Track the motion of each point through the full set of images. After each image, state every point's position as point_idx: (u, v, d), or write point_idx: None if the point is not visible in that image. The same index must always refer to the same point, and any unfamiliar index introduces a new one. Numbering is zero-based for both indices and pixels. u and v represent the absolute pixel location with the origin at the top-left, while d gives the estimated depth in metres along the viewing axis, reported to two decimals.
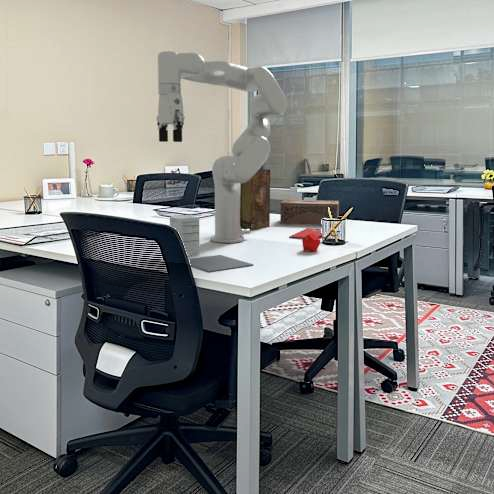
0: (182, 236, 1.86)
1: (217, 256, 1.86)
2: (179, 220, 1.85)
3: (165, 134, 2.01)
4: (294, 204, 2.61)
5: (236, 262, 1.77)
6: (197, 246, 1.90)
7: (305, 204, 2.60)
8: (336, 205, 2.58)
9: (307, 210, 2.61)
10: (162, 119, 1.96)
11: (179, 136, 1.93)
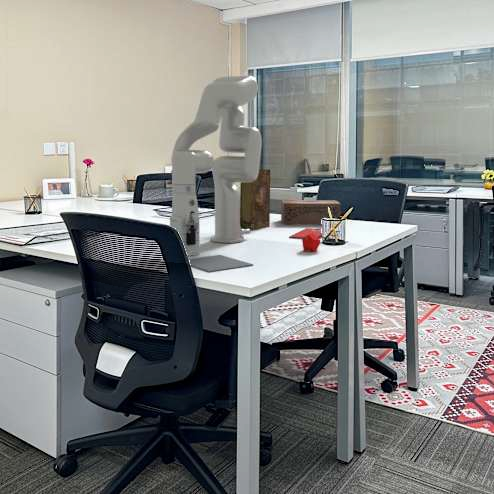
0: (182, 236, 1.86)
1: (217, 256, 1.86)
2: (179, 220, 1.85)
3: None
4: (297, 204, 2.60)
5: (236, 262, 1.77)
6: (197, 246, 1.90)
7: (308, 204, 2.60)
8: (339, 204, 2.60)
9: (310, 210, 2.61)
10: None
11: (193, 239, 1.87)
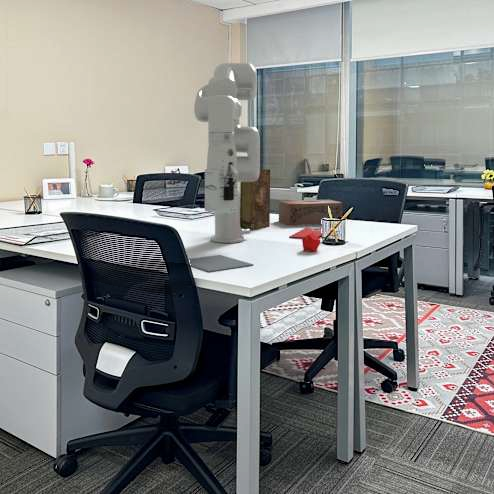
0: (219, 190, 1.67)
1: (217, 256, 1.86)
2: (216, 172, 1.66)
3: None
4: (302, 205, 2.58)
5: (236, 262, 1.77)
6: (235, 202, 1.71)
7: (313, 204, 2.60)
8: (341, 204, 2.64)
9: (315, 210, 2.61)
10: None
11: (231, 194, 1.68)
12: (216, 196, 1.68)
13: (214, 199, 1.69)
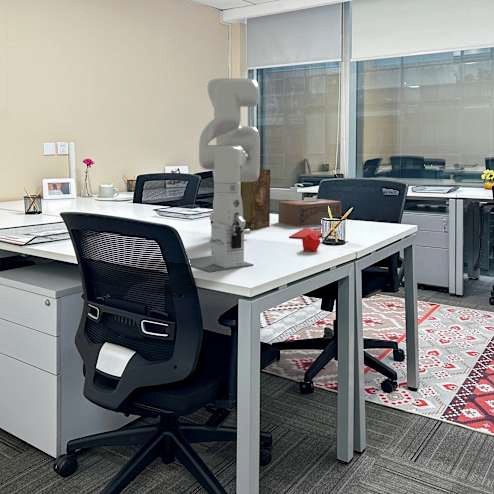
0: (226, 245, 1.68)
1: None
2: (223, 227, 1.67)
3: None
4: (309, 205, 2.58)
5: None
6: (241, 256, 1.72)
7: (317, 204, 2.60)
8: (340, 203, 2.68)
9: (319, 210, 2.61)
10: (218, 221, 1.71)
11: (238, 242, 1.68)
12: (223, 251, 1.68)
13: (221, 253, 1.69)
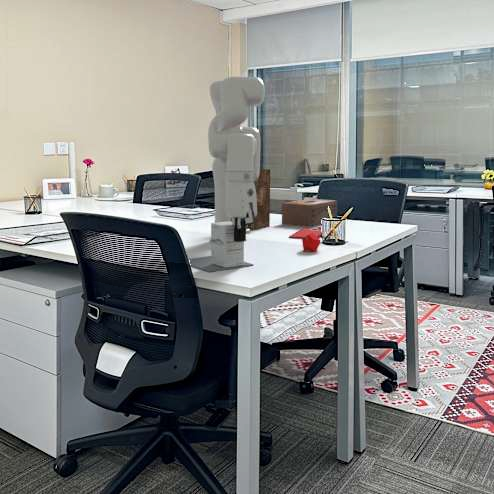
0: (226, 245, 1.68)
1: None
2: (222, 227, 1.67)
3: None
4: (317, 205, 2.58)
5: None
6: (241, 255, 1.72)
7: (322, 204, 2.62)
8: (336, 201, 2.73)
9: (323, 210, 2.63)
10: (231, 211, 1.65)
11: (243, 235, 1.66)
12: (223, 251, 1.68)
13: (221, 253, 1.69)
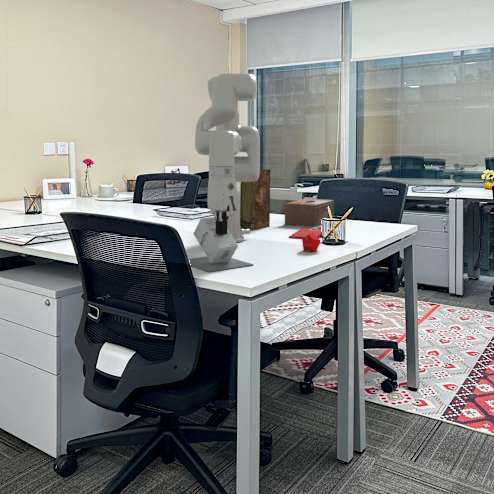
0: (210, 231, 1.73)
1: None
2: (200, 221, 1.76)
3: None
4: (320, 205, 2.58)
5: (236, 262, 1.77)
6: (231, 238, 1.75)
7: (323, 204, 2.62)
8: (333, 201, 2.75)
9: (324, 210, 2.64)
10: (212, 205, 1.72)
11: (224, 228, 1.72)
12: (211, 237, 1.73)
13: (211, 242, 1.73)
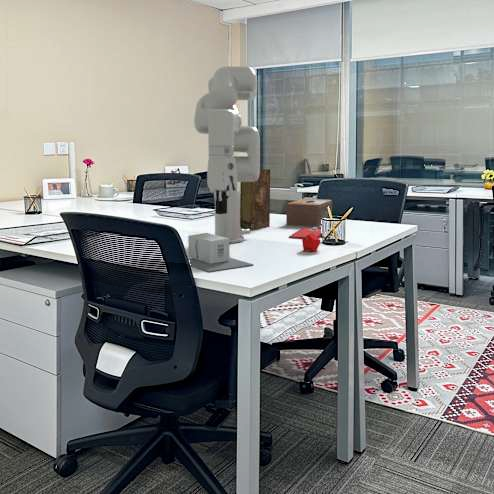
0: (199, 237, 1.79)
1: None
2: (188, 238, 1.82)
3: None
4: (321, 205, 2.58)
5: (236, 262, 1.77)
6: (221, 237, 1.79)
7: (324, 203, 2.63)
8: None
9: (324, 209, 2.64)
10: (212, 184, 1.72)
11: (224, 208, 1.73)
12: (201, 240, 1.77)
13: (202, 244, 1.76)
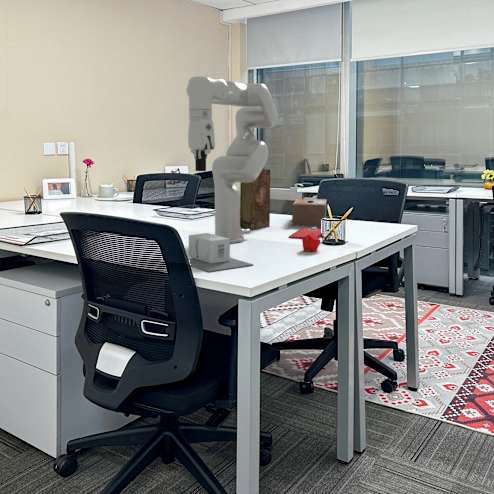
0: (200, 237, 1.79)
1: None
2: (189, 237, 1.83)
3: None
4: None
5: (236, 262, 1.77)
6: (222, 237, 1.79)
7: (325, 203, 2.64)
8: (326, 200, 2.78)
9: None
10: (192, 145, 1.93)
11: (203, 165, 1.94)
12: (201, 240, 1.77)
13: (203, 243, 1.77)
